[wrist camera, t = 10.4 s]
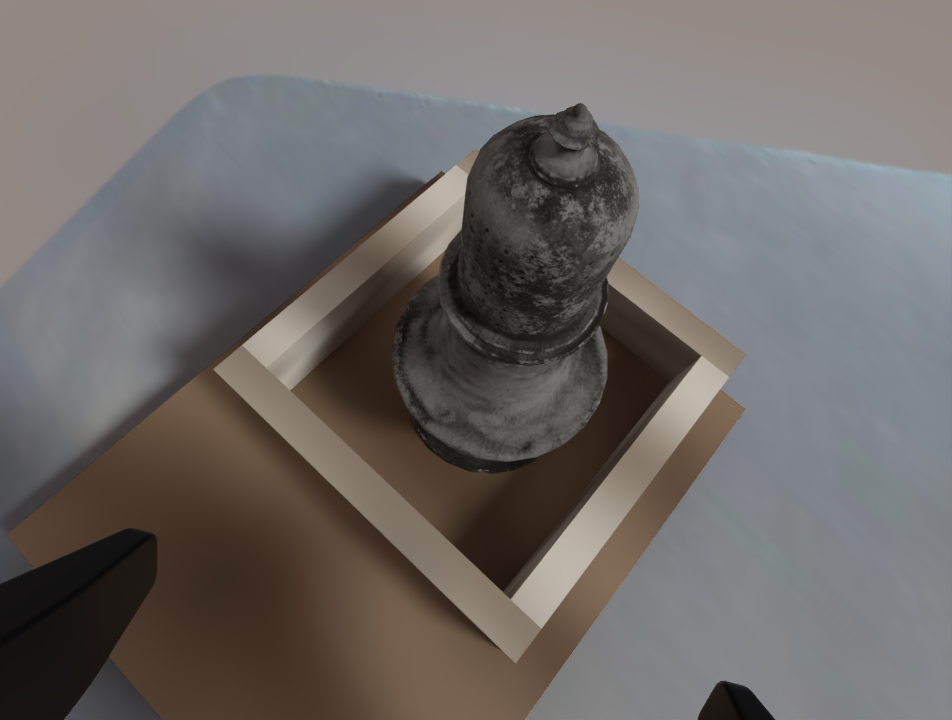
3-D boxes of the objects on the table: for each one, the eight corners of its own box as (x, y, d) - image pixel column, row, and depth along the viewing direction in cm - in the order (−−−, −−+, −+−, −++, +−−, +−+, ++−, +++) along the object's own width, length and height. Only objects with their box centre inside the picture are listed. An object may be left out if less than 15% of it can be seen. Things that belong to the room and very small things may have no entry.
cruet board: (364, 922, 14) (344, 1028, 11) (33, 538, 17) (-65, 528, 13) (727, 418, 20) (787, 386, 17) (440, 190, 23) (443, 123, 19)
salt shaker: (375, 458, 17) (280, 238, 6) (424, 295, 19) (421, -85, 8) (559, 503, 17) (802, 365, 6) (588, 335, 19) (804, 8, 8)
